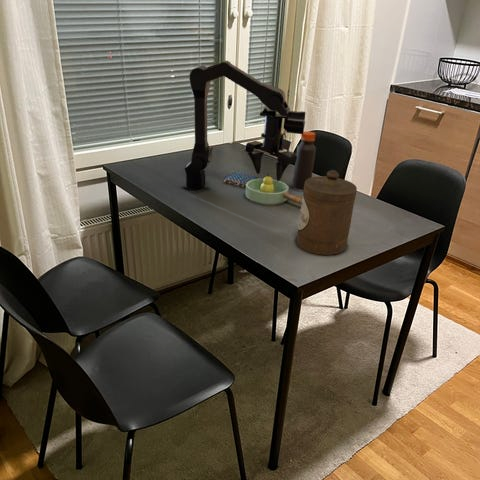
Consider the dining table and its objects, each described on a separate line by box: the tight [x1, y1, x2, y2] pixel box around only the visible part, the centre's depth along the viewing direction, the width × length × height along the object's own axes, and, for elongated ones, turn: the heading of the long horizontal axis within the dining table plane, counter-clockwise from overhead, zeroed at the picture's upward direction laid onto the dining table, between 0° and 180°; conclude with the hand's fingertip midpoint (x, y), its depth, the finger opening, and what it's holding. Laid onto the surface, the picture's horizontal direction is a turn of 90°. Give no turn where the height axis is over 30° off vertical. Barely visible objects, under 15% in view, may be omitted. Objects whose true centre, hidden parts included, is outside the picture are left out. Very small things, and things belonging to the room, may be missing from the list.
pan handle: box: [283, 192, 303, 206], centre depth 166 cm, size 2×12×2 cm, turn 47°
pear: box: [260, 172, 274, 193], centre depth 172 cm, size 5×5×8 cm
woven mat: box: [223, 171, 259, 188], centre depth 185 cm, size 10×11×2 cm
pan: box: [244, 178, 290, 205], centre depth 174 cm, size 15×15×4 cm
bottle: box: [291, 130, 317, 191], centre depth 179 cm, size 7×7×20 cm
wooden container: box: [296, 169, 358, 256], centre depth 140 cm, size 15×15×22 cm
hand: (268, 177), depth 171 cm, fingers open, 9 cm apart
